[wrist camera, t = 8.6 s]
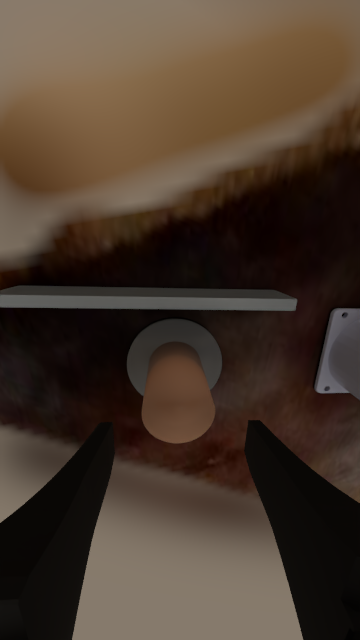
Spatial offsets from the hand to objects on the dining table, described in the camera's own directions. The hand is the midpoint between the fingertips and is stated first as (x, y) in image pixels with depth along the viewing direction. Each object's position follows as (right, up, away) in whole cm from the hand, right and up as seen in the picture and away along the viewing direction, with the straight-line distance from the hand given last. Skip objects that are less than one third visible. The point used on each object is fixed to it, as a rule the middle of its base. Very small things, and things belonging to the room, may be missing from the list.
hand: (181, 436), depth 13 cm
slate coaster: (-1, +3, +8) cm, 9 cm away
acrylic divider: (-2, +8, +6) cm, 11 cm away
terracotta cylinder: (-1, +2, +7) cm, 8 cm away
